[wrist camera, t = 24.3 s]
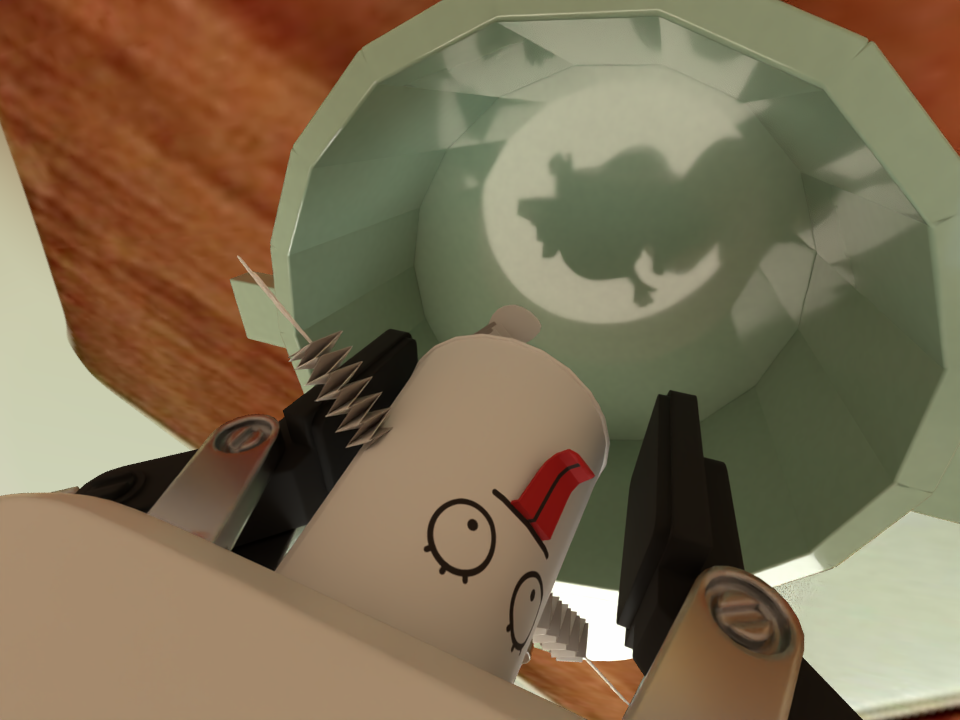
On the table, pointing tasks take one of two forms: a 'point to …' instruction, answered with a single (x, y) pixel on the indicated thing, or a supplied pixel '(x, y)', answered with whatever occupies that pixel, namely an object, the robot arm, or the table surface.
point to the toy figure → (458, 495)
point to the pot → (655, 246)
